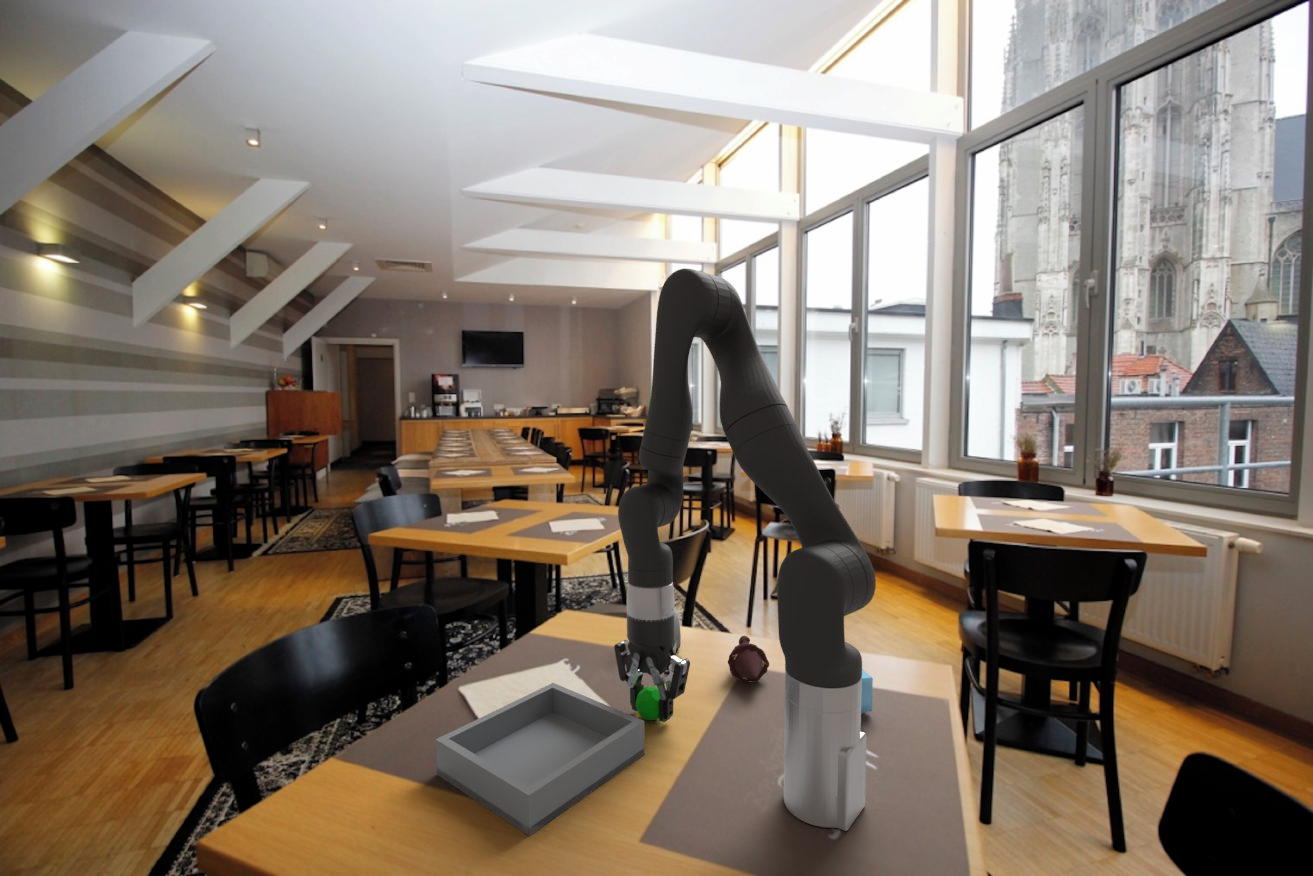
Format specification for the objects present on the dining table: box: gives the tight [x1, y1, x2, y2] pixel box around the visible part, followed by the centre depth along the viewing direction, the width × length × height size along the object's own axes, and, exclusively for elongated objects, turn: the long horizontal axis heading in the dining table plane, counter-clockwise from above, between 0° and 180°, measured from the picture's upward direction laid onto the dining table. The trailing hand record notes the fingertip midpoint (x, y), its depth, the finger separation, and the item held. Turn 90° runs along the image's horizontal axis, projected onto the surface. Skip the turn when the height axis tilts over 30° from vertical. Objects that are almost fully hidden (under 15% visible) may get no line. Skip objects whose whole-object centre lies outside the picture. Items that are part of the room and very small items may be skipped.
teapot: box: [861, 668, 874, 715], centre depth 105 cm, size 12×6×8 cm, turn 11°
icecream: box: [727, 635, 770, 683], centre depth 114 cm, size 7×7×15 cm
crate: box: [435, 682, 646, 837], centre depth 88 cm, size 19×21×5 cm
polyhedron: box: [636, 685, 660, 721], centre depth 100 cm, size 5×5×5 cm
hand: (651, 713), depth 100 cm, fingers closed on polyhedron, 5 cm apart
